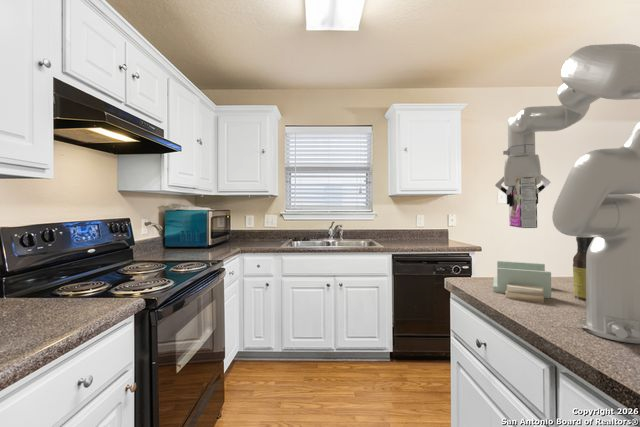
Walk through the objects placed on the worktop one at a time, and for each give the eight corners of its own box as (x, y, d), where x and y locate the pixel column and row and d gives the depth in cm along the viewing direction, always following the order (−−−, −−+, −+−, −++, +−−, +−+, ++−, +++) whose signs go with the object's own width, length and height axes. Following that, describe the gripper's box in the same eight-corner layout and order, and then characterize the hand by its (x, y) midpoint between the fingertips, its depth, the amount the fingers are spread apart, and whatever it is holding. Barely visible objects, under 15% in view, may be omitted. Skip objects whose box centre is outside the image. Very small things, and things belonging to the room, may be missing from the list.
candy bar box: (508, 226, 106) (507, 180, 105) (524, 226, 104) (523, 179, 104) (520, 228, 95) (519, 177, 95) (538, 228, 93) (537, 176, 93)
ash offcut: (542, 296, 86) (542, 290, 86) (506, 291, 91) (506, 285, 91) (543, 293, 89) (543, 287, 89) (509, 288, 95) (509, 283, 95)
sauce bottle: (597, 301, 90) (597, 235, 89) (605, 307, 84) (605, 237, 84) (570, 298, 93) (570, 235, 92) (576, 304, 87) (576, 237, 87)
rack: (551, 302, 90) (551, 272, 90) (493, 295, 98) (493, 268, 97) (544, 289, 103) (544, 263, 103) (493, 284, 111) (493, 260, 111)
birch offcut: (543, 303, 85) (543, 296, 85) (505, 297, 91) (505, 291, 91) (544, 299, 89) (543, 293, 89) (507, 294, 95) (507, 288, 95)
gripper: (491, 153, 100) (492, 206, 101) (555, 147, 92) (556, 205, 92) (491, 157, 107) (492, 206, 107) (551, 151, 98) (552, 205, 98)
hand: (522, 205), depth 99 cm, fingers closed on candy bar box, 5 cm apart
